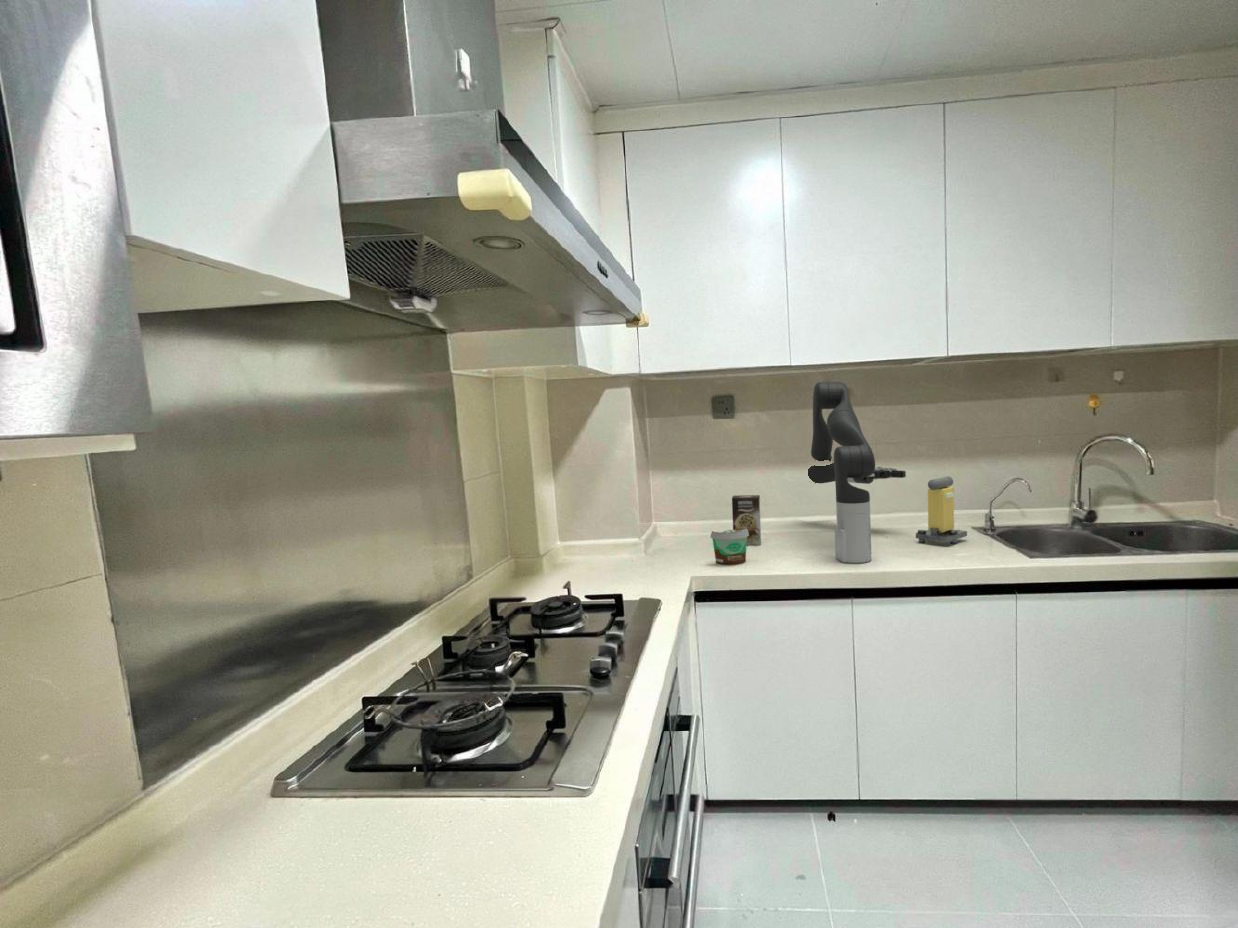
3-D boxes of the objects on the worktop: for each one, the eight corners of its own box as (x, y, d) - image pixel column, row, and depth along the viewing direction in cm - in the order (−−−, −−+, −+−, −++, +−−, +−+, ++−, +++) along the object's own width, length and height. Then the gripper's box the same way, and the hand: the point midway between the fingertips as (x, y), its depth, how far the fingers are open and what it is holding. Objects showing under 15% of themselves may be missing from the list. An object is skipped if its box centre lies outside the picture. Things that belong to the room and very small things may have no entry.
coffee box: (733, 545, 221) (730, 497, 219) (734, 541, 227) (732, 495, 225) (761, 545, 218) (759, 497, 217) (761, 541, 225) (759, 494, 223)
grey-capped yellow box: (943, 535, 203) (942, 480, 201) (925, 532, 207) (925, 479, 206) (958, 530, 208) (957, 476, 206) (940, 528, 213) (940, 475, 211)
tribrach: (947, 547, 201) (946, 531, 200) (915, 542, 209) (915, 527, 208) (967, 540, 208) (966, 524, 207) (936, 536, 216) (935, 521, 215)
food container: (722, 568, 193) (720, 534, 192) (711, 564, 198) (710, 531, 197) (758, 562, 197) (756, 529, 196) (746, 558, 203) (745, 526, 202)
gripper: (845, 463, 226) (892, 464, 212) (868, 460, 234) (915, 461, 219) (846, 485, 226) (893, 487, 212) (869, 481, 234) (915, 483, 220)
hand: (904, 474), depth 216 cm, fingers closed
